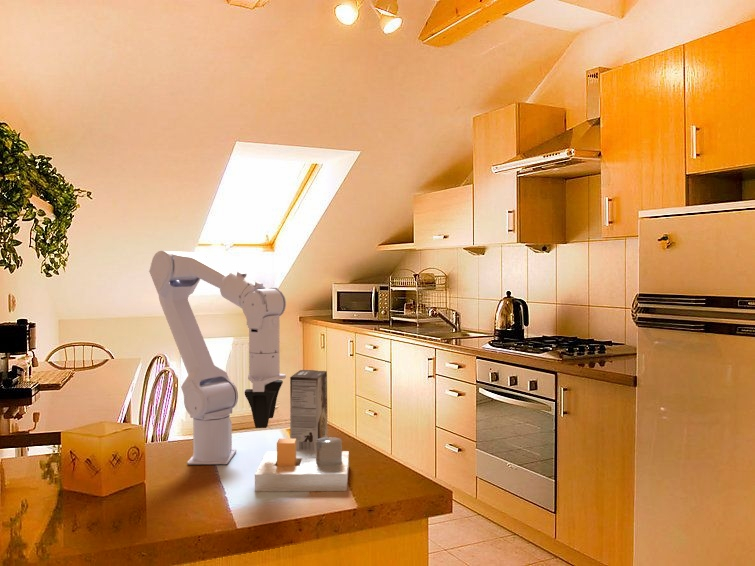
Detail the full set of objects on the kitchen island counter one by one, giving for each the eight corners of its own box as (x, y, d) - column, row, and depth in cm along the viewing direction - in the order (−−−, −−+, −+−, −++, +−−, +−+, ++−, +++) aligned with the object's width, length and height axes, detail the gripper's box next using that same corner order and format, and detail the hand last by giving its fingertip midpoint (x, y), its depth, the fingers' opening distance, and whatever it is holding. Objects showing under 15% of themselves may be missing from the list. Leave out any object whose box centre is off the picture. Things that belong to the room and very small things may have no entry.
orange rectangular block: (279, 475, 121) (279, 438, 121) (296, 475, 121) (296, 438, 121) (276, 481, 118) (276, 443, 118) (294, 481, 118) (294, 443, 118)
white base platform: (267, 466, 126) (267, 431, 126) (348, 466, 127) (348, 430, 127) (254, 491, 112) (254, 451, 112) (346, 490, 113) (346, 451, 113)
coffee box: (300, 440, 146) (300, 369, 145) (328, 441, 145) (328, 370, 144) (289, 452, 136) (288, 376, 136) (318, 453, 136) (318, 377, 135)
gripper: (280, 356, 116) (280, 432, 116) (289, 346, 130) (290, 413, 131) (240, 356, 116) (241, 432, 116) (254, 347, 130) (255, 414, 130)
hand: (264, 422), depth 123 cm, fingers open, 7 cm apart
